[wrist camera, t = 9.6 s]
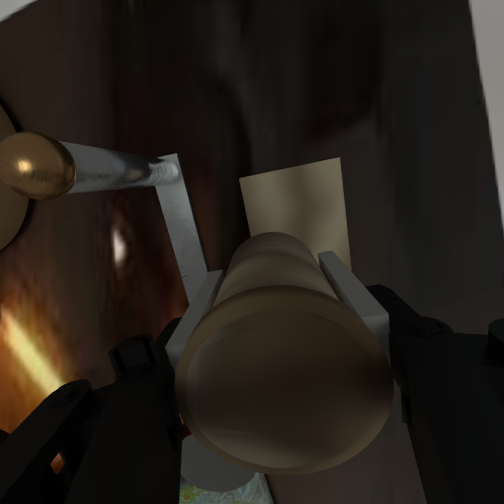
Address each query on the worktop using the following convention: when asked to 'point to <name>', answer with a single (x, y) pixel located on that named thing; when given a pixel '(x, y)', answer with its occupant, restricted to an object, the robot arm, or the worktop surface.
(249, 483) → the towel
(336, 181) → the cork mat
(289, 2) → the worktop surface
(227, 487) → the mug
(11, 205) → the planter
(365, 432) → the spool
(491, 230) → the worktop surface
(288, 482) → the worktop surface
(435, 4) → the worktop surface
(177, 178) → the grey piece
